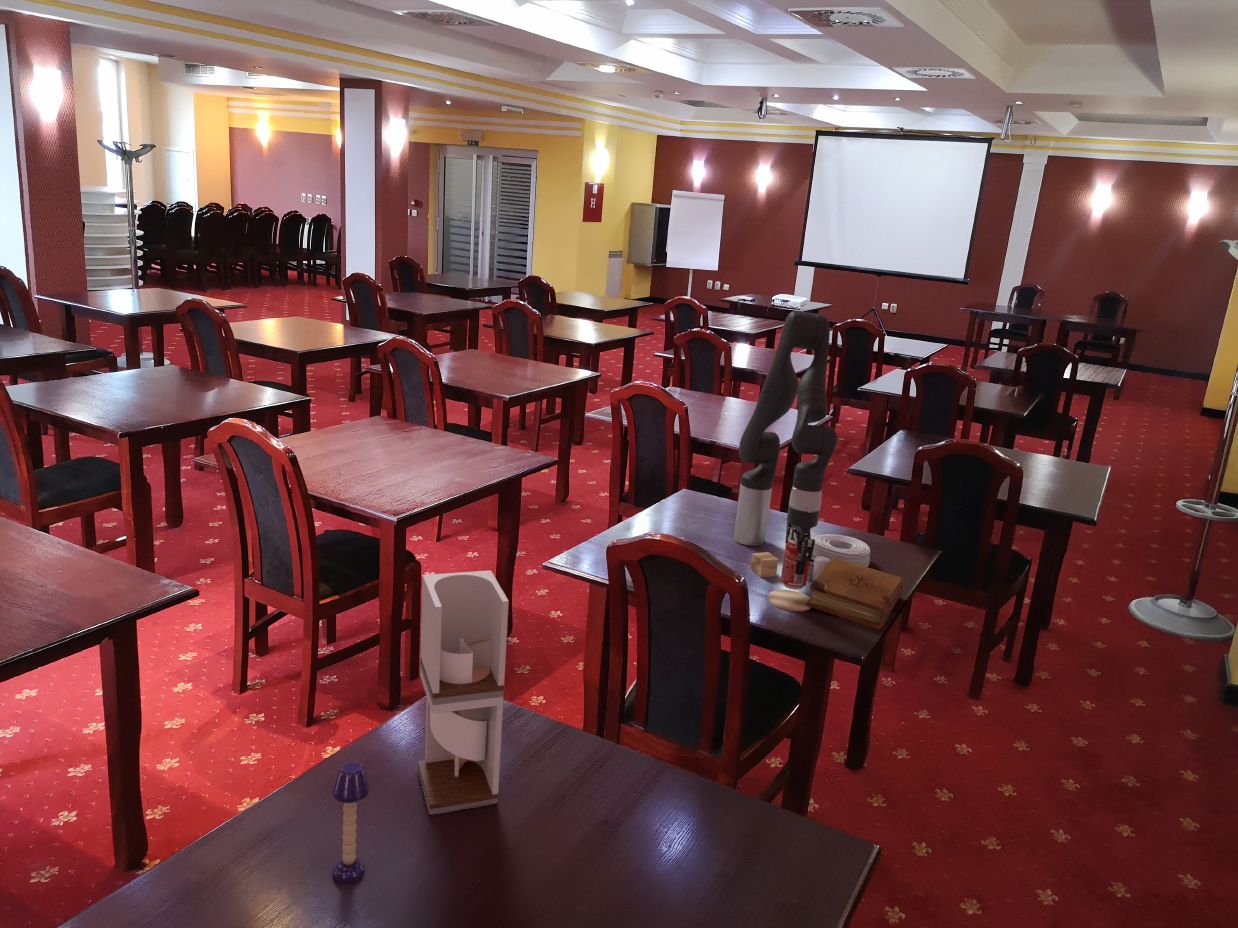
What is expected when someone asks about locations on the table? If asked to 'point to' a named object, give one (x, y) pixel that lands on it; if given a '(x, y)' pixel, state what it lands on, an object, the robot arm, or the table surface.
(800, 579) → the beverage can
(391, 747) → the table surface
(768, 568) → the oak block
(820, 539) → the cable
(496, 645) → the display case
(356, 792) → the toy lamp
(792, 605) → the coaster
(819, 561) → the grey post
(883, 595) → the diary
